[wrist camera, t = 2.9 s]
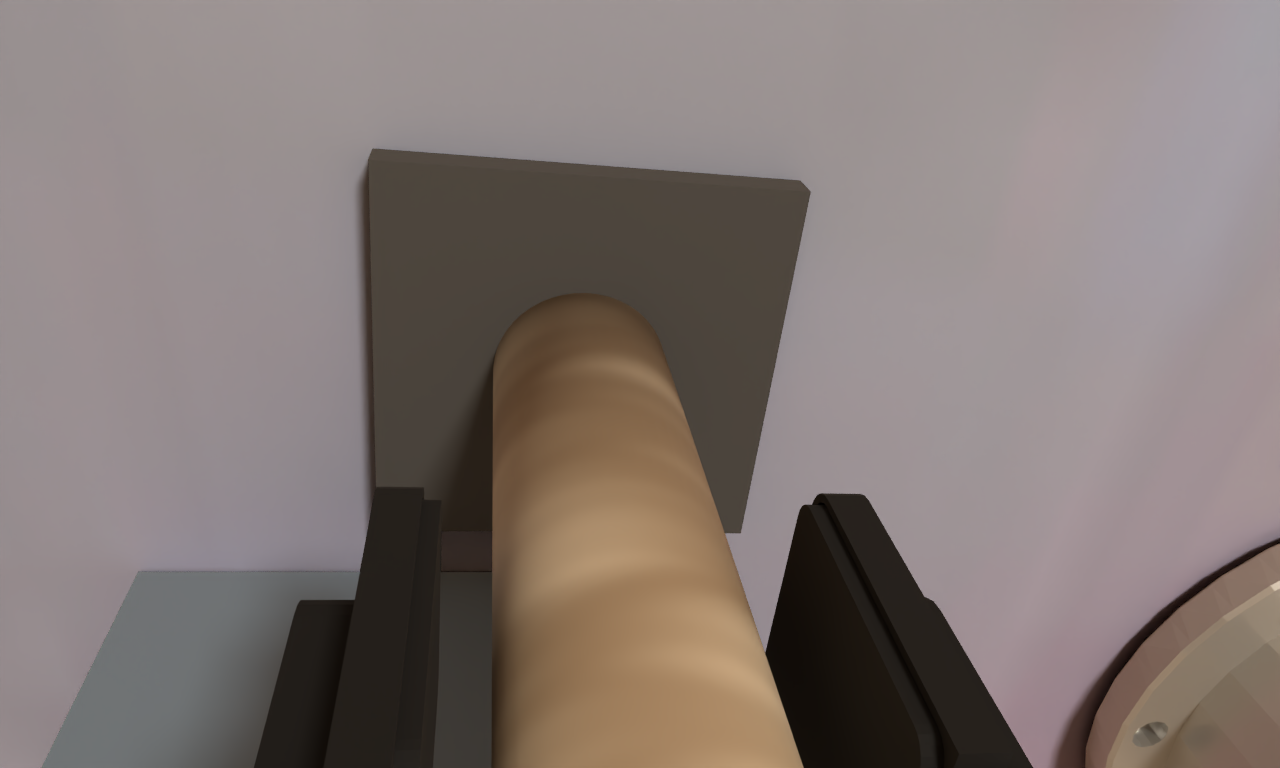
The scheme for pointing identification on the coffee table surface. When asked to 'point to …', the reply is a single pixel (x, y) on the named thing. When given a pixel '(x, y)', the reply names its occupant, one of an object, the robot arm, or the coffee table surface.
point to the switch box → (248, 670)
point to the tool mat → (558, 265)
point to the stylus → (614, 563)
